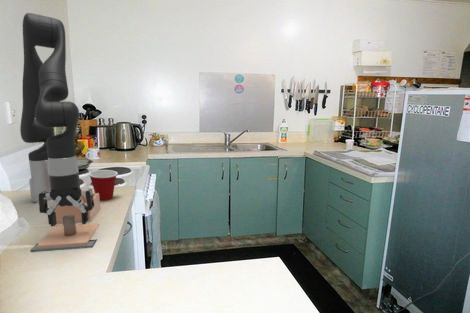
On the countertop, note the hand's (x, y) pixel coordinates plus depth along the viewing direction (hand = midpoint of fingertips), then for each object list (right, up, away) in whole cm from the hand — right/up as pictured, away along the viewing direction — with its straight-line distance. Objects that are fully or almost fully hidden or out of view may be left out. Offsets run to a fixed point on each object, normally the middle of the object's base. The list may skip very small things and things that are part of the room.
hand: (69, 224), depth 90 cm
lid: (0, -4, +1) cm, 4 cm away
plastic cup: (-4, +2, +34) cm, 34 cm away
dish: (-6, -1, +16) cm, 17 cm away
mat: (0, -4, +1) cm, 4 cm away
